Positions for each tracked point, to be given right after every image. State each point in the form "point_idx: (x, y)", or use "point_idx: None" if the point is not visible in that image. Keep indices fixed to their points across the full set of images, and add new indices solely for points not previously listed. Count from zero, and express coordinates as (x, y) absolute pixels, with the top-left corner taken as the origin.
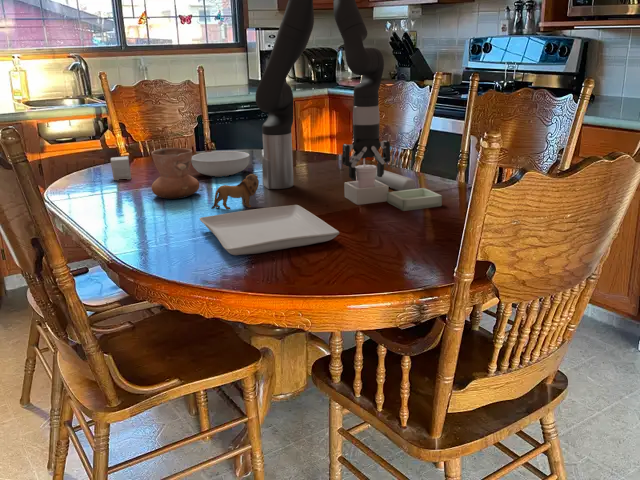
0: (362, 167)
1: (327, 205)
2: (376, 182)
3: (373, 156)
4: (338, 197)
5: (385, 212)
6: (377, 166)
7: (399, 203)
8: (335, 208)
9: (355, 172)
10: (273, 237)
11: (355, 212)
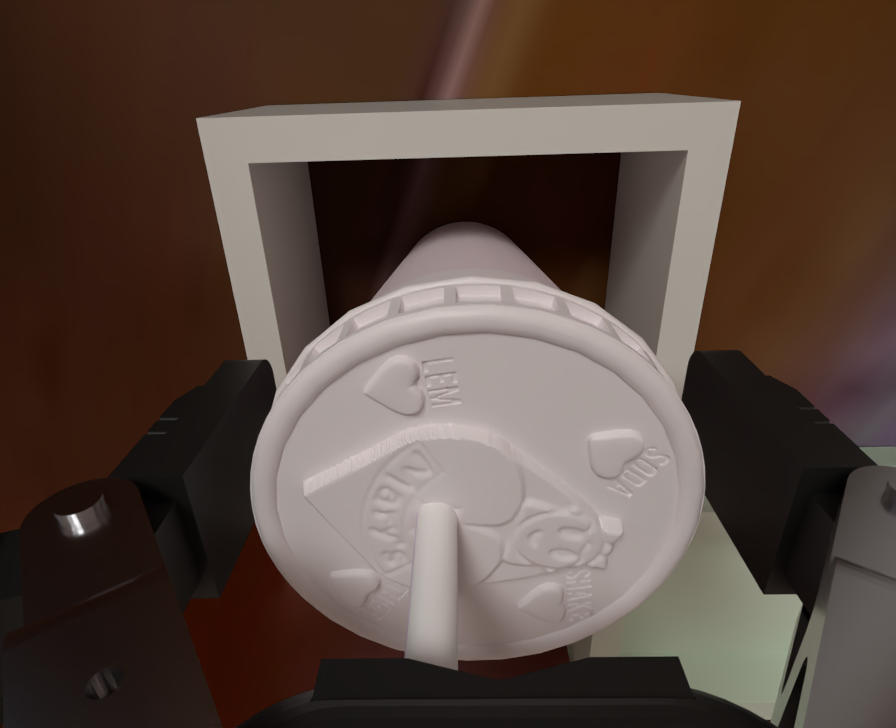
0: (375, 565)
1: (53, 350)
2: (664, 271)
3: (821, 607)
4: (194, 91)
5: None
6: (768, 445)
7: (578, 645)
8: (120, 453)
9: (244, 530)
10: None
11: (255, 578)
